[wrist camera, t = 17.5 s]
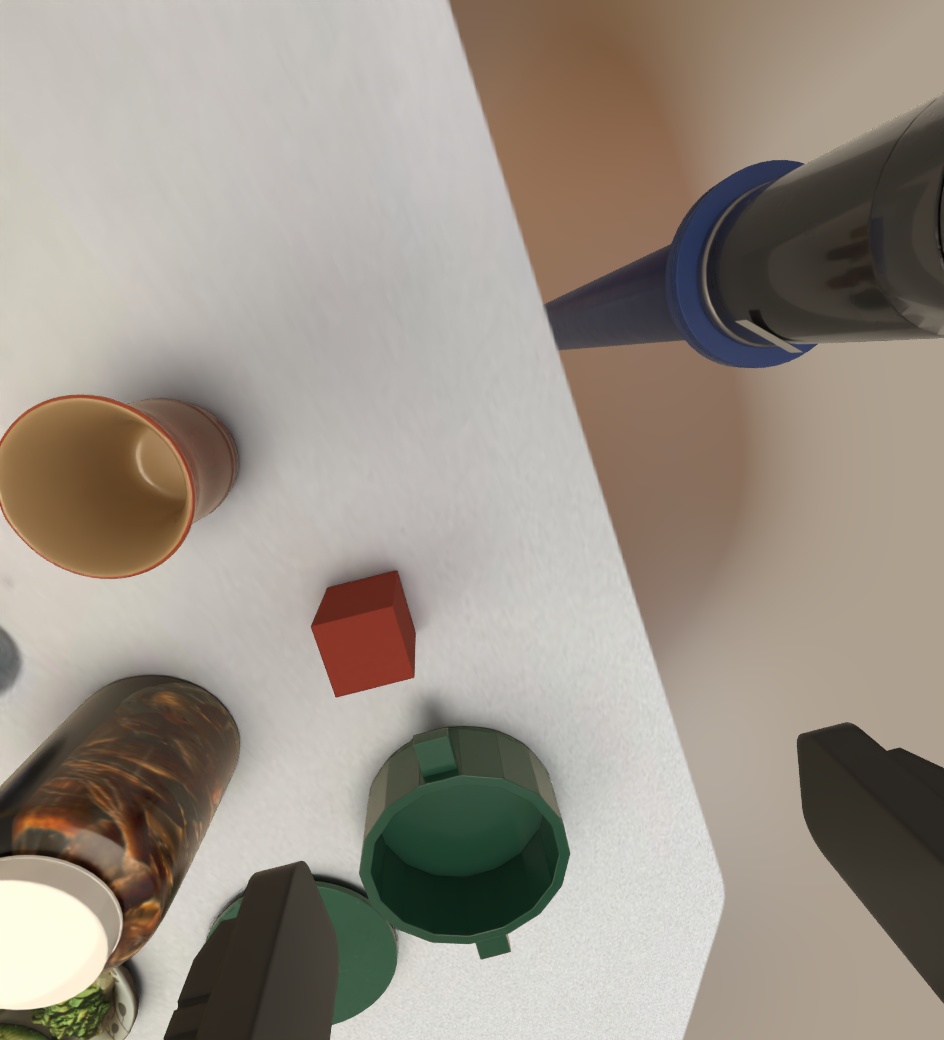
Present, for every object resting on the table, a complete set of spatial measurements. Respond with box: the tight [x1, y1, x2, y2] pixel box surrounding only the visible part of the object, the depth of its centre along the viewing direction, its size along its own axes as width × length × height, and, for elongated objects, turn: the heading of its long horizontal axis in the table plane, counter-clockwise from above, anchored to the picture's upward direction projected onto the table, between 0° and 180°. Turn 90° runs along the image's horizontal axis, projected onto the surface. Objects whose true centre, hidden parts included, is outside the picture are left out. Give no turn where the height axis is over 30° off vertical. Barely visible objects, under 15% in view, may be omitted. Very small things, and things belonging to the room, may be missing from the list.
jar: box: [0, 676, 240, 1010], centre depth 34 cm, size 12×12×15 cm
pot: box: [359, 726, 570, 959], centre depth 43 cm, size 15×20×6 cm
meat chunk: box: [311, 570, 416, 697], centre depth 37 cm, size 5×5×6 cm
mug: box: [0, 395, 238, 579], centre depth 31 cm, size 12×9×10 cm
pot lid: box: [206, 881, 398, 1025], centre depth 45 cm, size 16×16×5 cm
